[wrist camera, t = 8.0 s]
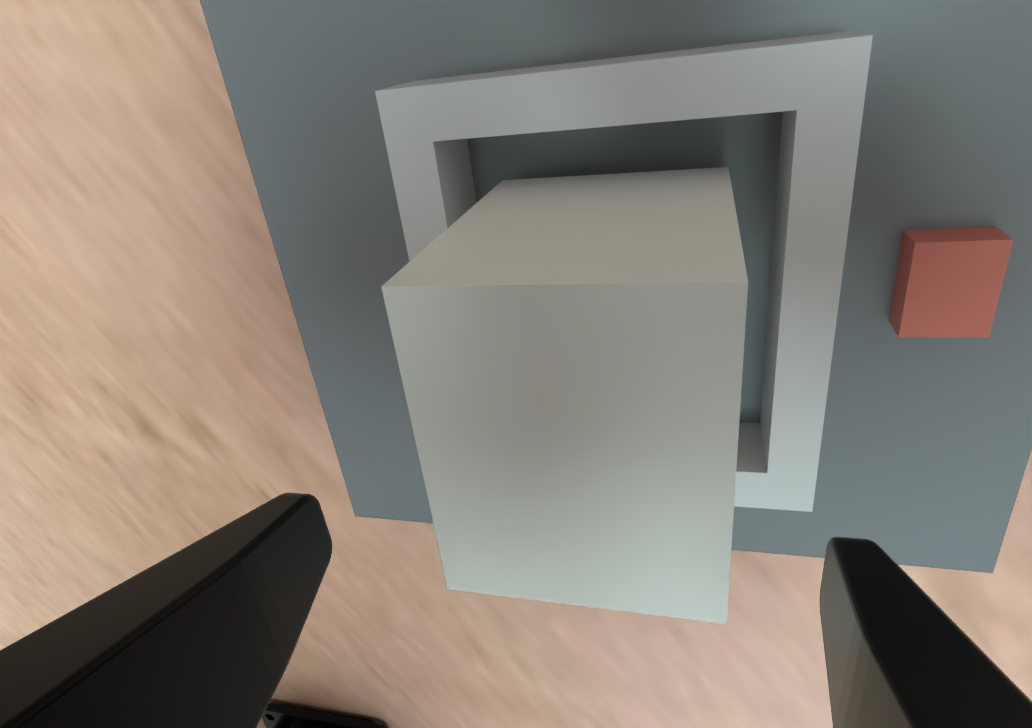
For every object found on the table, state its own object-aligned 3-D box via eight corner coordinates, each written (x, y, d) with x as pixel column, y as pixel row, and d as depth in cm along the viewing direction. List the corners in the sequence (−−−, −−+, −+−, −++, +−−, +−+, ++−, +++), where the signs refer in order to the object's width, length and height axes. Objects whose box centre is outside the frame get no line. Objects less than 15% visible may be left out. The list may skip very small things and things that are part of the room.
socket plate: (375, 487, 22) (324, 560, 19) (225, -55, 15) (107, -71, 12) (971, 531, 17) (1026, 639, 14) (1188, -243, 10) (1393, -347, 7)
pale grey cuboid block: (537, 383, 17) (447, 589, 11) (514, 169, 14) (381, 286, 8) (716, 389, 16) (726, 624, 10) (726, 156, 13) (747, 281, 7)
